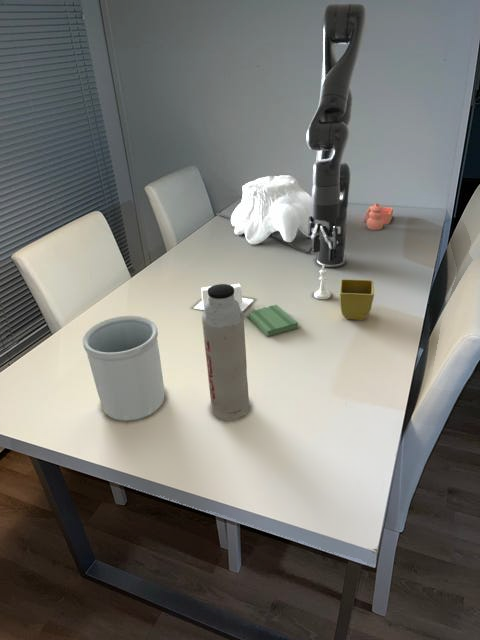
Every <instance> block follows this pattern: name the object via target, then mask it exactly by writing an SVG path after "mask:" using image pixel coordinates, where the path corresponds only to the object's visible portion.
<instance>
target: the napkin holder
mask: <svg viewBox="0 0 480 640" xmlns="http://www.w3.org/2000/svg"><path fill="white" fill-rule="evenodd" d="M230 285H231V286H232V287H233V288H234V299H235V300H236V301H238V303H239V307H240V310H241V311H242V312H243V313H244V311H245V310H246V309H247V308H248V307H249V306H250V305H251V304H252V303H253V302H254V299H252V298H246V297H243V295H242V292H243V291H242V286H241V284H240V283H234V284H230ZM212 286H213V285H210V286H209V285H208V286H202V287H200V292H201V293H200V294H201V301H199V302H198V303H197V304H196V305H195V306H193V309H194V310H195V309H196V310H201V311H204V307H205V304H206V303H207V302H208V296H209V295H208V289H209V288H210V287H212Z"/></svg>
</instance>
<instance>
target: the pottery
mask: <svg viewBox="0 0 480 640" xmlns="http://www.w3.org/2000/svg"><path fill="white" fill-rule="evenodd" d="M393 213H394V207H391V206H390V207H389V206H382V205H380V203H379V202H374V205H370V206H369V207H368V209H367V210H366V212H365V223H366V228H367V229H368V230H373V231H379V230H382V229H383V227H384V225H389V224H390V223H391V221H392V219H393V215H394V214H393Z"/></svg>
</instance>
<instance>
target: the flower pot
mask: <svg viewBox="0 0 480 640" xmlns="http://www.w3.org/2000/svg"><path fill="white" fill-rule="evenodd" d="M374 297H375V289H374V281H373V280H371V279H350V278H347V279H345V278H343V279H340V288H339V303H340V304H339V305H340V312H341V314H342V316H343V317H344V319H345V320H358V321H359V320H360V321H363V320H365V319H366V318H367V317H368V316H369V314H370V312H371V309H372V306H373V302H374Z"/></svg>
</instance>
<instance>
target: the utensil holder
mask: <svg viewBox="0 0 480 640" xmlns="http://www.w3.org/2000/svg"><path fill="white" fill-rule="evenodd" d="M158 335H159V332H158V327H157V325H156V323H155V321H152V319H149V318H147V317H145V316H140V315H121V316H114V317H111V318H107V319H105V320H102V321H100V322H98V323H96V324H94V325H92V326H91V327H90V328H89V329H88V330H86V332H84V335H83V338H82V345H83V348H84V350H85V353H86V354H87V360H88V363H89V366H90V370H91V374H92V378H93V381H94V385H95V389H96V392H97V395H98V398H99V401H100V404H101V408H102V410H103V412H104V413H105V414H106V415H107V416H108V417H110V418H111V419H114V420H117V421H129V422H130V421H136V420H141V419H143V418H146V417H148V416H151V415H152V414H153V413H156V411H157V410H159V408H160V407H161V406H162V405H163V403H164V400H165V385H164V384H165V383H164V376H163V369H162V362H161V361H162V360H161V355H160V348H159V341H158Z"/></svg>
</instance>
